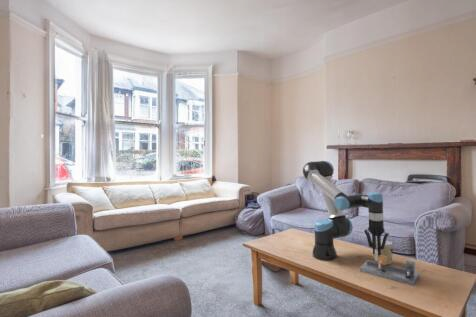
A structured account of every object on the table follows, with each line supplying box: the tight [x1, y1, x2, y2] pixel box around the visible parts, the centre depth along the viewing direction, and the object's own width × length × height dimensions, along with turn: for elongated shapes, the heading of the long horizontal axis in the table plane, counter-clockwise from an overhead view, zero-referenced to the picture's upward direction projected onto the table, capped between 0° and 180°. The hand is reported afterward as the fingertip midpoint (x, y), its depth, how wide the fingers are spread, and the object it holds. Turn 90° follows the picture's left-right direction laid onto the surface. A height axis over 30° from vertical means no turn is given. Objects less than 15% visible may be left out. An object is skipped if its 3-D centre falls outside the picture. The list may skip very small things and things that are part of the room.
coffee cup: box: [376, 239, 394, 265], centre depth 162 cm, size 9×9×12 cm
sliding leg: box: [377, 255, 387, 270], centre depth 150 cm, size 4×8×6 cm, turn 138°
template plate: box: [359, 259, 419, 286], centre depth 147 cm, size 26×13×8 cm, turn 48°
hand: (377, 260), depth 153 cm, fingers closed
